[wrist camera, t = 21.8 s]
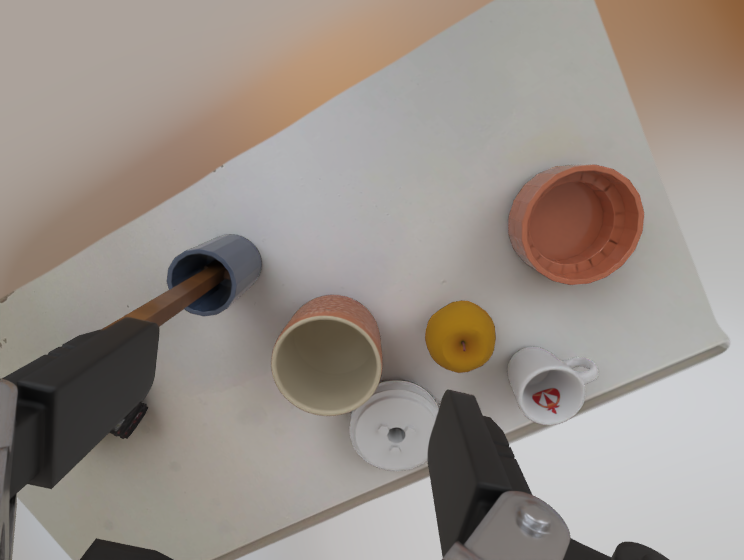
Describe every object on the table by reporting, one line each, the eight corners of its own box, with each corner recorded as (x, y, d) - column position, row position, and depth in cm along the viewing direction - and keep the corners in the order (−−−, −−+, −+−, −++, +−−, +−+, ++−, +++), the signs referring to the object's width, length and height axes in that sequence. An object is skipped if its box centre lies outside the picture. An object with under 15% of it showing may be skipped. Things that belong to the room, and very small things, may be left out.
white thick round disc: (457, 406, 59) (464, 428, 54) (406, 468, 62) (408, 493, 57) (383, 360, 57) (383, 378, 52) (334, 426, 60) (330, 448, 55)
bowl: (526, 153, 50) (545, 151, 44) (631, 179, 50) (663, 181, 44) (492, 258, 53) (506, 269, 47) (590, 282, 54) (616, 296, 48)
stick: (220, 254, 53) (-2, 376, 22) (245, 260, 53) (58, 389, 22) (219, 266, 54) (-2, 402, 23) (243, 271, 54) (57, 414, 23)
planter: (384, 288, 54) (385, 318, 44) (379, 373, 58) (379, 420, 47) (290, 283, 55) (269, 311, 44) (290, 368, 58) (270, 414, 47)
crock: (209, 228, 53) (170, 242, 43) (266, 241, 53) (240, 258, 44) (201, 282, 55) (163, 307, 45) (257, 295, 55) (230, 322, 46)
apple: (447, 278, 54) (460, 299, 45) (498, 313, 55) (520, 340, 47) (409, 328, 56) (414, 357, 47) (459, 361, 57) (473, 396, 49)
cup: (570, 323, 55) (601, 349, 48) (585, 374, 57) (617, 406, 49) (492, 350, 56) (510, 379, 49) (509, 399, 58) (529, 434, 51)
